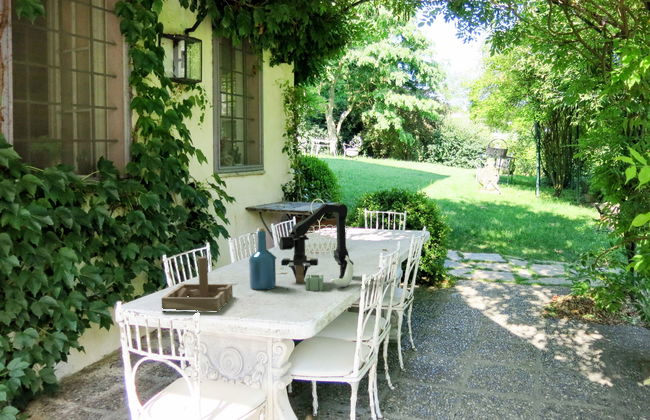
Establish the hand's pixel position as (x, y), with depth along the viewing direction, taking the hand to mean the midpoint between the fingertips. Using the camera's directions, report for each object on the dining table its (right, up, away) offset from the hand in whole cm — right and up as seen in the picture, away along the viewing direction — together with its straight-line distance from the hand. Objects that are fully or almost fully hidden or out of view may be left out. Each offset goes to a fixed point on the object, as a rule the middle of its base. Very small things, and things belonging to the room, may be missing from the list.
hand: (300, 278), depth 299 cm
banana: (+22, -3, -11) cm, 25 cm away
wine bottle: (-18, -4, -10) cm, 21 cm away
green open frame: (+8, -3, -14) cm, 17 cm away
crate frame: (-44, -7, -41) cm, 60 cm away
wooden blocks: (-44, -7, -41) cm, 60 cm away
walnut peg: (0, -2, 0) cm, 2 cm away
